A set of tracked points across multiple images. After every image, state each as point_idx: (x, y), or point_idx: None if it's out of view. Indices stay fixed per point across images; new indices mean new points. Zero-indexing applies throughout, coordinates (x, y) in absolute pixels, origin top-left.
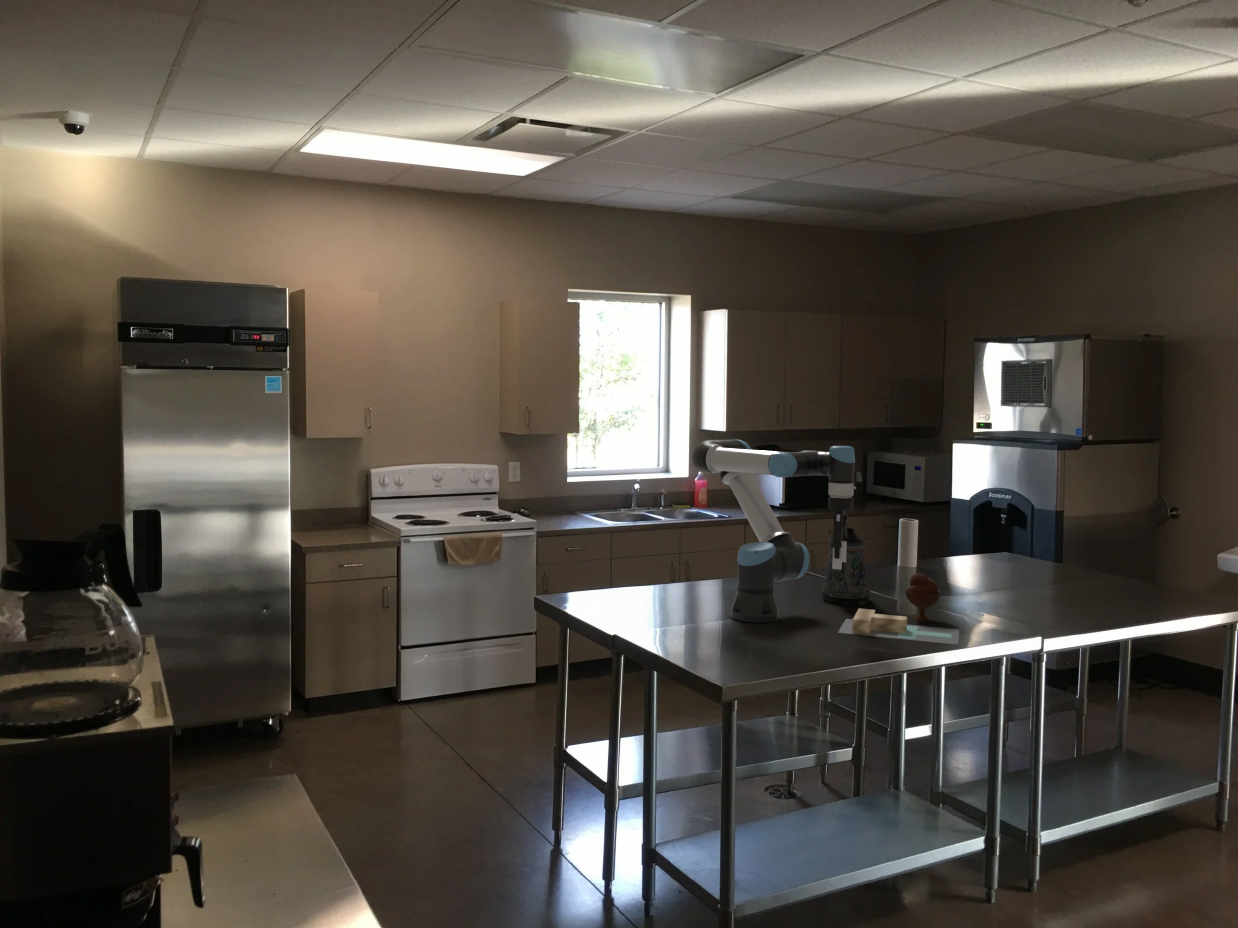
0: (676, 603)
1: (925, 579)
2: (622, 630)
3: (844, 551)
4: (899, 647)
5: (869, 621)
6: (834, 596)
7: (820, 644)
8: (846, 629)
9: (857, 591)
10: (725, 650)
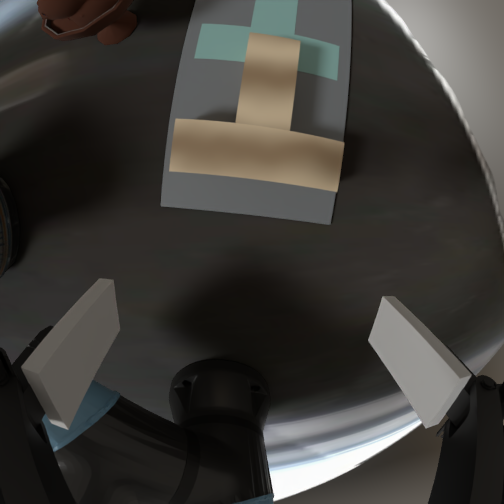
0: None
1: None
2: (340, 467)
3: (82, 329)
4: (406, 96)
5: (343, 143)
6: (11, 251)
7: (414, 259)
8: (291, 202)
9: None
10: None
